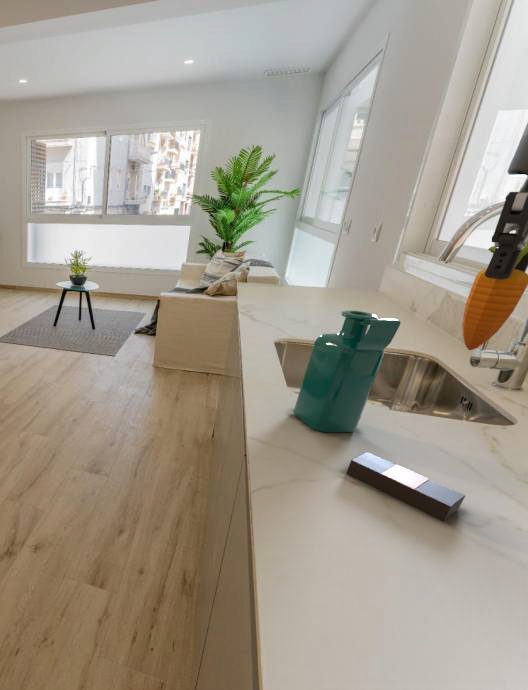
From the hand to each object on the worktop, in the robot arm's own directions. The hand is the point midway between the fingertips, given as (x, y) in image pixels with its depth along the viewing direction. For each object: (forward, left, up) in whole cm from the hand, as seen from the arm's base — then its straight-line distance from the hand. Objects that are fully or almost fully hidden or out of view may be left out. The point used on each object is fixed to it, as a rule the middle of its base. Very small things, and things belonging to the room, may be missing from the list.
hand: (503, 276), depth 56 cm
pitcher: (-3, -15, -31) cm, 35 cm away
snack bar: (+8, +1, -31) cm, 32 cm away
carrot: (0, 0, -11) cm, 11 cm away
